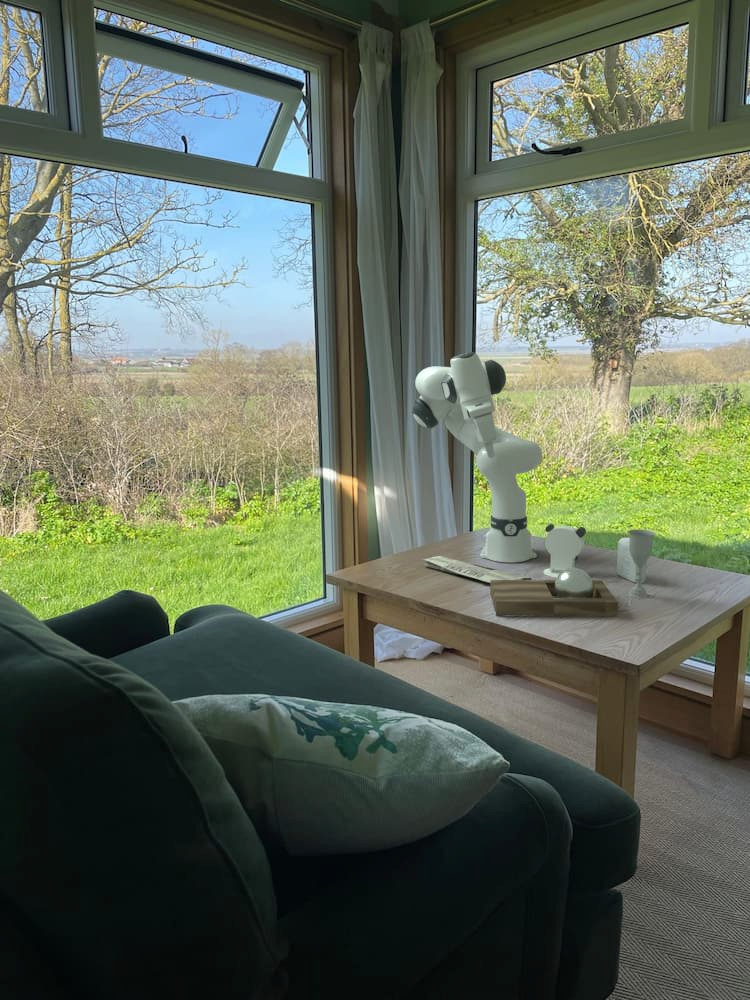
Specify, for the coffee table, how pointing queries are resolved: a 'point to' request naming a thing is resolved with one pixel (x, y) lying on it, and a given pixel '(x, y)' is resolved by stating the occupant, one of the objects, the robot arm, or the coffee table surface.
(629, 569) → the white rounded block
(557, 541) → the panda figurine
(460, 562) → the newspaper
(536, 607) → the brown slotted slab
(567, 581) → the steel ball
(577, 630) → the coffee table surface
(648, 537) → the chalice
